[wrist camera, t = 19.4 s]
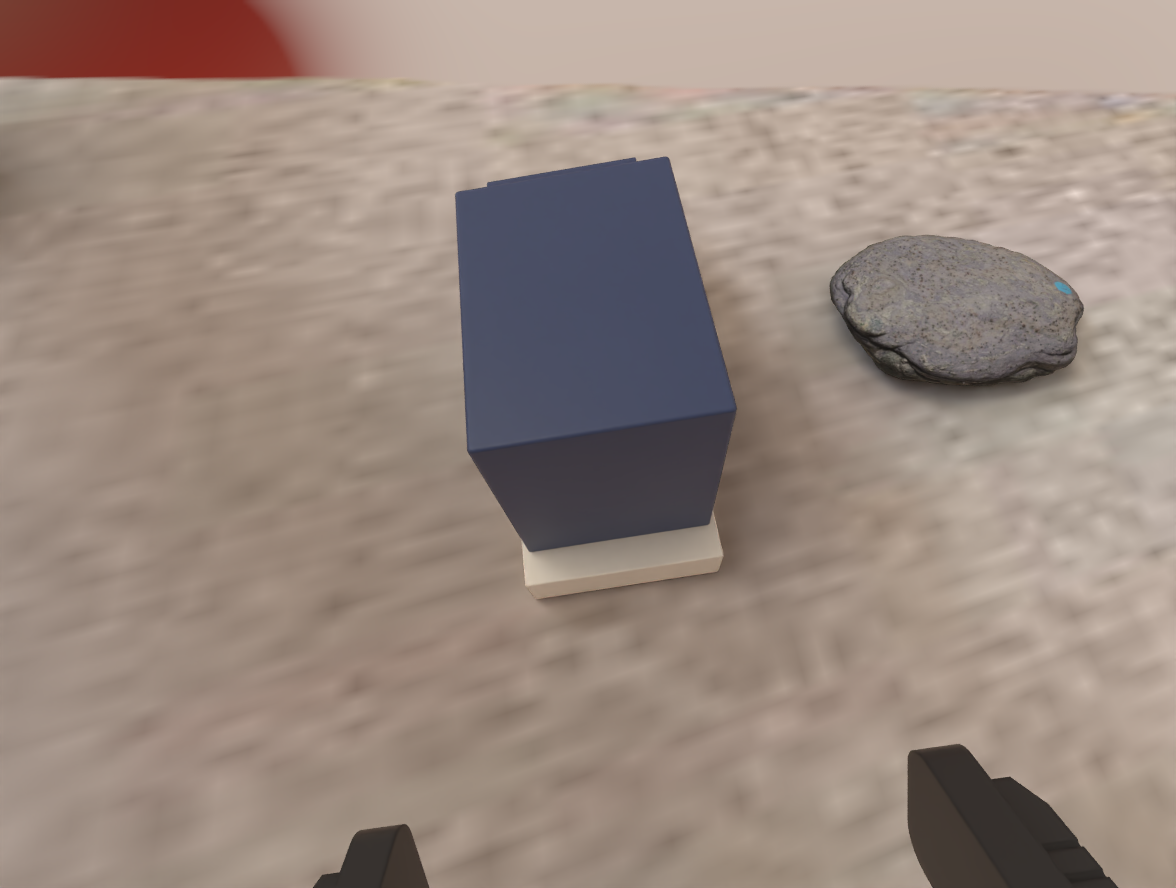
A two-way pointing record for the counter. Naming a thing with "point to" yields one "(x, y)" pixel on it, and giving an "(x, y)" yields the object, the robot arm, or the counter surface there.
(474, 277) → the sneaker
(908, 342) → the stone
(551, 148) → the counter surface
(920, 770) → the robot arm
